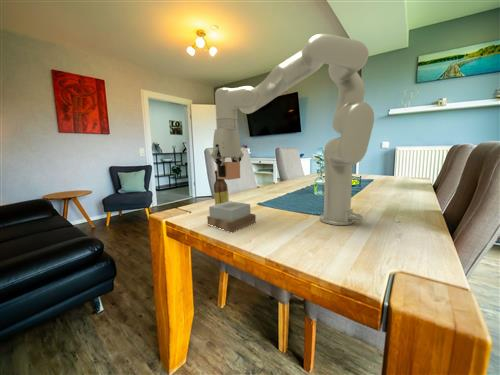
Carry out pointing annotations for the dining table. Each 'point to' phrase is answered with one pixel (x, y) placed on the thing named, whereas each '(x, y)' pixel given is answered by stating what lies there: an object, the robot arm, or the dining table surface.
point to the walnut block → (232, 223)
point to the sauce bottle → (220, 190)
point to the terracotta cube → (231, 170)
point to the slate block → (229, 211)
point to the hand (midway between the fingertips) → (228, 175)
